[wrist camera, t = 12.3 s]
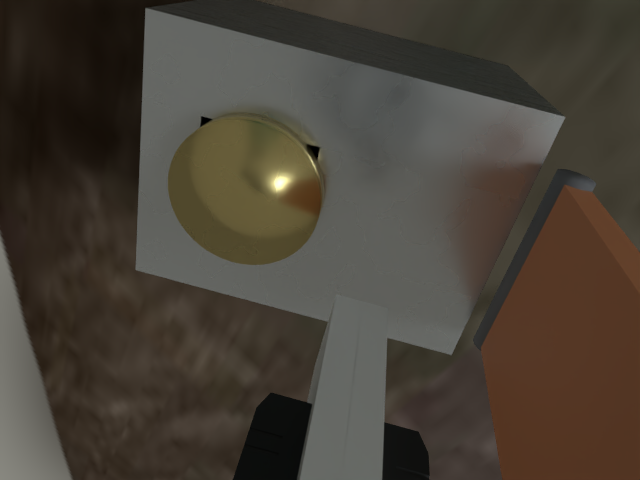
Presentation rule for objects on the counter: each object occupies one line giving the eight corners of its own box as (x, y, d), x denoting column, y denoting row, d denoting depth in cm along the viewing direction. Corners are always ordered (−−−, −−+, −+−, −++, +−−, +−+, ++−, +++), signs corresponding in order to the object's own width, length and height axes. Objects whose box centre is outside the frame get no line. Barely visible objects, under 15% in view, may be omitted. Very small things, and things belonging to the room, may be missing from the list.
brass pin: (255, 53, 29) (172, 101, 19) (359, 80, 29) (336, 144, 19) (240, 153, 32) (163, 243, 22) (335, 178, 32) (303, 280, 22)
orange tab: (589, 175, 19) (553, 165, 19) (812, 441, 8) (727, 416, 8) (501, 339, 23) (472, 331, 23) (572, 657, 12) (517, 639, 12)
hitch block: (232, -6, 28) (145, 8, 18) (508, 65, 28) (565, 116, 18) (210, 185, 34) (135, 269, 24) (436, 245, 34) (451, 354, 24)
